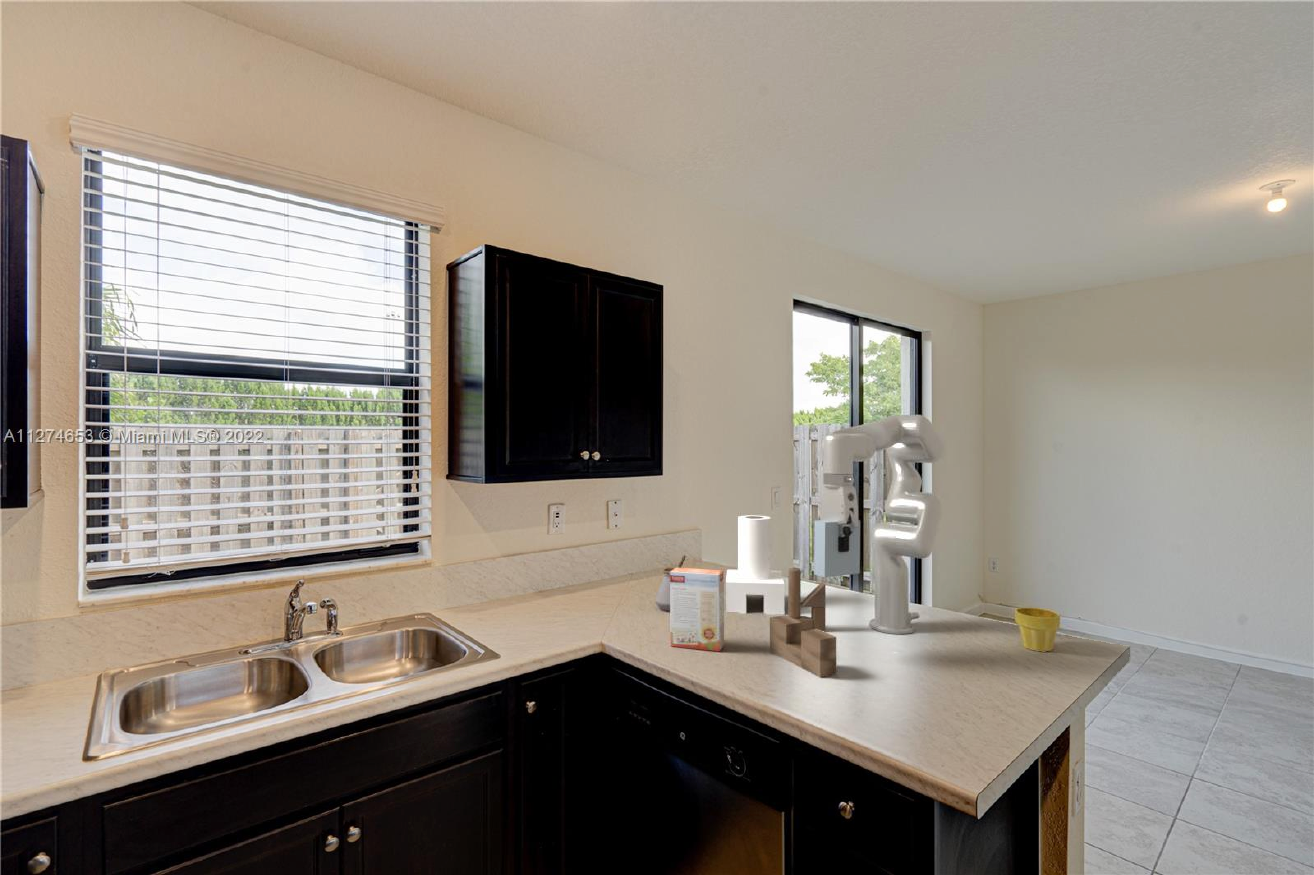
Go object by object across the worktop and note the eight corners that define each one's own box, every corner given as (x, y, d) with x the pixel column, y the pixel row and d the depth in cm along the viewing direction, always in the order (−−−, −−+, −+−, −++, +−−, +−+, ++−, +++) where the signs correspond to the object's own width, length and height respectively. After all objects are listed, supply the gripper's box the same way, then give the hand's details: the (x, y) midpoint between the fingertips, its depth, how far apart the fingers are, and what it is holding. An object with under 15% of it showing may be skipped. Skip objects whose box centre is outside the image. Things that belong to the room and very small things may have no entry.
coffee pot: (683, 614, 198) (683, 568, 198) (649, 611, 202) (649, 565, 202) (701, 598, 218) (701, 555, 218) (670, 595, 222) (670, 553, 222)
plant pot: (1012, 649, 166) (1012, 613, 166) (1017, 639, 174) (1017, 604, 174) (1058, 657, 159) (1058, 620, 159) (1061, 646, 168) (1061, 611, 168)
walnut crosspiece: (784, 648, 167) (784, 615, 167) (836, 674, 149) (836, 637, 149) (769, 651, 165) (769, 617, 165) (820, 677, 147) (820, 640, 147)
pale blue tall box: (848, 570, 166) (849, 518, 166) (859, 573, 162) (860, 520, 162) (814, 574, 161) (814, 520, 161) (824, 577, 157) (825, 522, 157)
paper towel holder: (727, 597, 219) (727, 513, 219) (780, 599, 216) (780, 514, 216) (725, 612, 200) (725, 520, 200) (784, 615, 198) (784, 521, 197)
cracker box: (724, 645, 169) (724, 569, 169) (719, 652, 164) (719, 574, 163) (676, 639, 174) (676, 566, 174) (669, 646, 168) (669, 570, 168)
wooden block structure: (825, 632, 180) (825, 571, 180) (788, 631, 181) (788, 570, 181) (823, 628, 184) (823, 568, 184) (786, 627, 185) (786, 567, 185)
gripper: (872, 482, 156) (871, 554, 156) (826, 478, 171) (826, 544, 171) (850, 483, 153) (849, 556, 152) (805, 479, 168) (804, 546, 167)
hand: (837, 549), depth 162 cm, fingers closed on pale blue tall box, 4 cm apart
